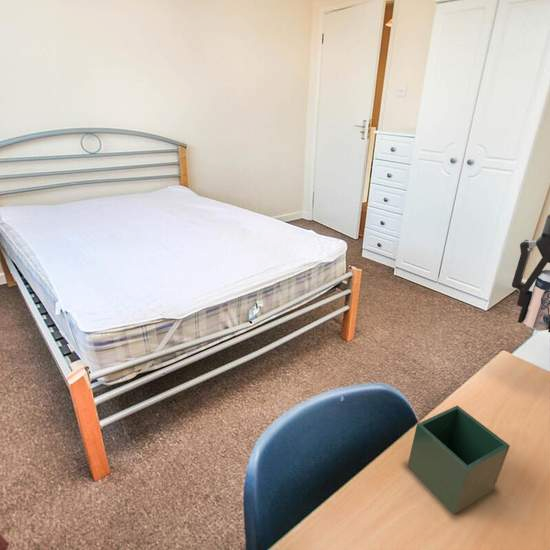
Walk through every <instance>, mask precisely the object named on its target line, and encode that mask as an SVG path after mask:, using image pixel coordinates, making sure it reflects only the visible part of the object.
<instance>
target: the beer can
mask: <svg viewBox="0 0 550 550" xmlns="http://www.w3.org/2000/svg"><path fill="white" fill-rule="evenodd" d="M531 291H532V295H531V298H530V301H529V304H528V307H527V310H526V313H525V317H524V320H523V322H522V323H523V324H524V325H525V326H526V327H528V328H529V329H531V330H535V331H539V332H540V331H541V332H542V331H548V330H549V328H550V269H543V270H542V271H541V273H540V274H539V276H538V277H537V279H536V280H535V282H534V286H533V289H532V290H531Z"/></svg>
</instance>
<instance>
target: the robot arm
mask: <svg viewBox="0 0 550 550" xmlns="http://www.w3.org/2000/svg"><path fill="white" fill-rule="evenodd" d="M549 211H550V208H549ZM535 247H536V248H537V250H538V252H539V254H540V256H541V259H540V260H539V262H537V265H536V266H535V268H534V269H533V271H532V272H531V274H530V275H529V277H528V278H527V279H526V281H525V282H523V278H524V274H525V271H526V268H527V265H528V262H529V259H530V256H531V252H533V251H534V249H535ZM519 251H520V256H519V259H518V262H517V266H516V268H515V272H514V276H513V279H512V283H511V287H512V288H514V289H517V290H518V291H519V295H518V299H517V302H516V306H518V307H520V308H521V309H520V312H519V315H518V319H517V323H518V324H523V323H524V322H523V320H524V317H525V313H526V310H527V307H528V304H529V301H530V298H531V295H532V291H533V290H530V289H531V288H532V286H533V284H535V282H536V279H537V277H538V276H539V274H540V273H541V271H543V270H545V267H546V266H547V264H550V213H549V214H547V217H546V219H545V223H544V225H543V229H542V233H541V235H540V236H539V237H538V238H537V239H536V240H530V239H529V240H528V239H524V240H523V241H521V243H520V244H519ZM547 332H548V333H550V328H549V329H548V330H547Z"/></svg>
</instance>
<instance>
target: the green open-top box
mask: <svg viewBox="0 0 550 550" xmlns="http://www.w3.org/2000/svg"><path fill="white" fill-rule="evenodd" d="M414 431H415V432H414V436H413V439H412V445H411V448H410V452H409V457H408V462H407V467H408V469H409V470H410V471H411V472H412V473H413V474H414V475H415V476H416V477H417V478H418V479H419V480H420V482H421V483H423V484H424V486H425V487H426V488H427V489H428V490H429V491H430V492H431V493H432V494H433V495H434V496H435V497H436V498H437V499H438V500H439V501H440V502H441V503H442V505H444V507H445V508H446V509H447V510H448V511H449V512H450V513H451V514H452V515H456V514H457V513H459V512H460V511H462V510H464V509H465V508H467V507H468V506H470V505H471V504H473V503H474V502H476V501H477V500H479V499H481V498H482V497H484V496H485V495H487V494H489V493H490V492H492V491H493V490H494V489H495V487H496V484H497V482H498V479H499V476H500V475H501V470H502V469H503V465H504V463H505V460H506V457H507V455H508V453H509V449H510V447H511V445H510V444H509V443H507V442H506V441H504V439H502V438H501V437H500V436H498V435H497V434H495V433H494V432H493V431H492V430H491V429H489V428H488V427H486V426H485V425H483V424H482V423H481V422H480V421H479V420H477V419H476V418H475V417H473V416H472V415H471V414H469V413H468V412H467V411H466V410H465V409H464V408H461V406H459V405H454V406H453V407H450V408H448V409H445V410H444V411H442V412H440V413H438V414H436V415H432V416H431V417H429V418H426V419H424V420H422V421H419V422H418V423H417V424H416V428H415V430H414Z"/></svg>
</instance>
